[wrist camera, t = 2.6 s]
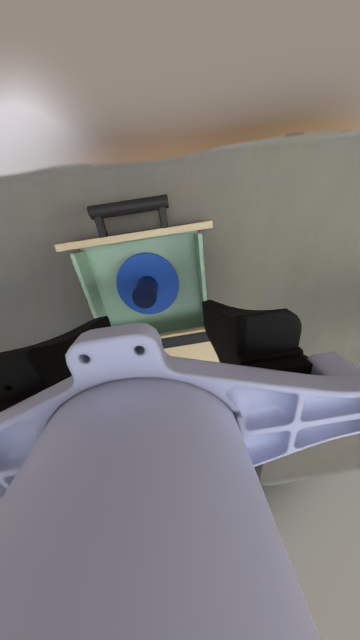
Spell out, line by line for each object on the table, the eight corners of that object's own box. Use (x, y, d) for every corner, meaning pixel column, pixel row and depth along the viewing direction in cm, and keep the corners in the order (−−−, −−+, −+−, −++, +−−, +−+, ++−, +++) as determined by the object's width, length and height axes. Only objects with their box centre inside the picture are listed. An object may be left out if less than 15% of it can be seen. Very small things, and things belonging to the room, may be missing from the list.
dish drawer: (127, 393, 28) (120, 423, 24) (102, 326, 23) (87, 348, 19) (215, 379, 28) (224, 406, 24) (210, 309, 23) (221, 327, 19)
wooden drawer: (106, 341, 24) (98, 355, 21) (59, 215, 17) (39, 211, 15) (212, 324, 24) (218, 336, 21) (203, 193, 18) (210, 185, 15)
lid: (126, 316, 22) (117, 336, 18) (109, 257, 19) (93, 264, 15) (182, 307, 22) (186, 325, 18) (173, 247, 19) (176, 251, 15)
